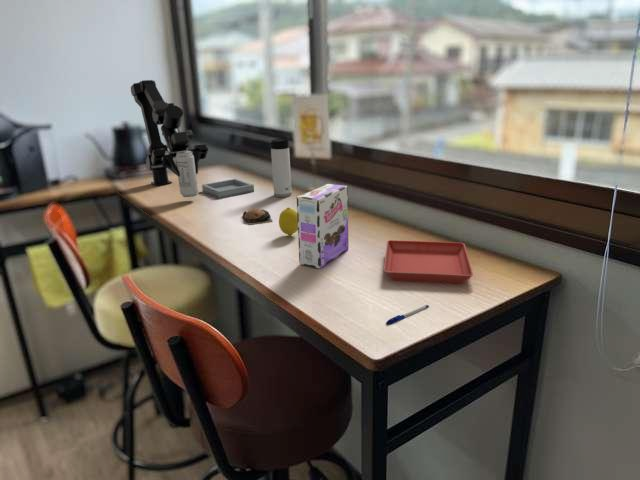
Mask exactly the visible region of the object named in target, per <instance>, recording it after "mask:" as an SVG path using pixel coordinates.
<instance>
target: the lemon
mask: <svg viewBox="0 0 640 480" xmlns="http://www.w3.org/2000/svg"><path fill="white" fill-rule="evenodd" d="M278 217H279V218H278V226H279V228H280V231H281V232H282V233H284V234H285V235H288V236H289V237H291V236H293V235H294V234H295V233H296V232H298V218H297V210H295V209H294V208H290V207H289V206H288V207H286V208H285V209H283V210H282V211H281V212H280V214H279V216H278Z"/></svg>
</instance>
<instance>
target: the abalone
mask: <svg viewBox="0 0 640 480" xmlns="http://www.w3.org/2000/svg"><path fill="white" fill-rule="evenodd" d="M241 218H242V220H243V222H244V223H245V224H247V225H248V226H255V225H261V224H262V225H263V224H267V223H268V224H269V223H273V219H272V218H271V214H270V213H269V211H267V210H266V209H260V208H252V209H249V210H247V211H244V212H243V214H242V216H241Z"/></svg>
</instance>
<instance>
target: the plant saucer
mask: <svg viewBox="0 0 640 480" xmlns="http://www.w3.org/2000/svg"><path fill="white" fill-rule="evenodd" d="M383 272H384V274H385V275H386V276H387V277H388V278H389V279H390V280H392V281H395V282H396V281H397V282H399V281H400V282H402V281H403V282H423V283H445V284H463V283H465V282H466V281H468V280H469V279H470V278H471V277H472V276H473V275H474V272H473V269H472V265H471V262H470V258H469V254H468V252H467V247H466V244H465V243H463V242H453V241H449V242H447V241H425V240H423V241H422V240H421V241H420V240H396V239H395V240H393V239H392V240H387V242H386V249H385V256H384V264H383Z"/></svg>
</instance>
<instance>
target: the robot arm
mask: <svg viewBox="0 0 640 480" xmlns="http://www.w3.org/2000/svg"><path fill="white" fill-rule="evenodd" d="M130 92H131V95H132V97H133V99H134V102H135V103H136V104H137V105H138V106H139V107H140V108H141V114H142V118H143V123H144V126H145V130H146V135H147V139H148V140H147V141H148V143H149V145H148V148H147V151H146V152H147V153H146V154H147V155H146V159H145V165H146V169H147V170H149V171H151V172H152V179H153V181H151V182H150V184H152V185H154V186H155V187H157V186H158V187H159V186H162V185H169V184H173V182H172V181H171V180H169V175H168V170H169V171H171V172H172V173H173V174H174V175H176V176H177V178H178V177H180V174H179V171H178V169H177V166H176V161H175V157H176V155H177V152H179V151H191V153H192V154H193V156H194V162H195V169H196V175H198V174H199V164H198V163H199V161H200V160H204V159H206V158H207V154H208V152H209V148H208V145H207V144H206V143H199V144H197V143H196V144H194V146H193V149H188V148H189V146H190V145H189V142H190V141H193V140H194V139H195V136H194V132H193V131H192V129H187V130H186V131H180V127H181V126H182V120H183V115H184V111H183V109H182V108H181V107H179V106H178V105H175V104H174V102H171V103H168V102H166V101H165V100H164V97H163V96H162V94H161V92H160V91H159V89H158V88H157V84H156V81H155V80H152V79H147V80H146V79H145V80H143V79H142V80H141V81H139V82H135V83H133V84H132V85H130ZM160 125H161V126H160ZM158 126H160V130H161V134H160V130H159V127H158ZM161 135H162V136H163V138H164V141H165V143H166V144H164V143H163V142H162V139H161Z"/></svg>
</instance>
